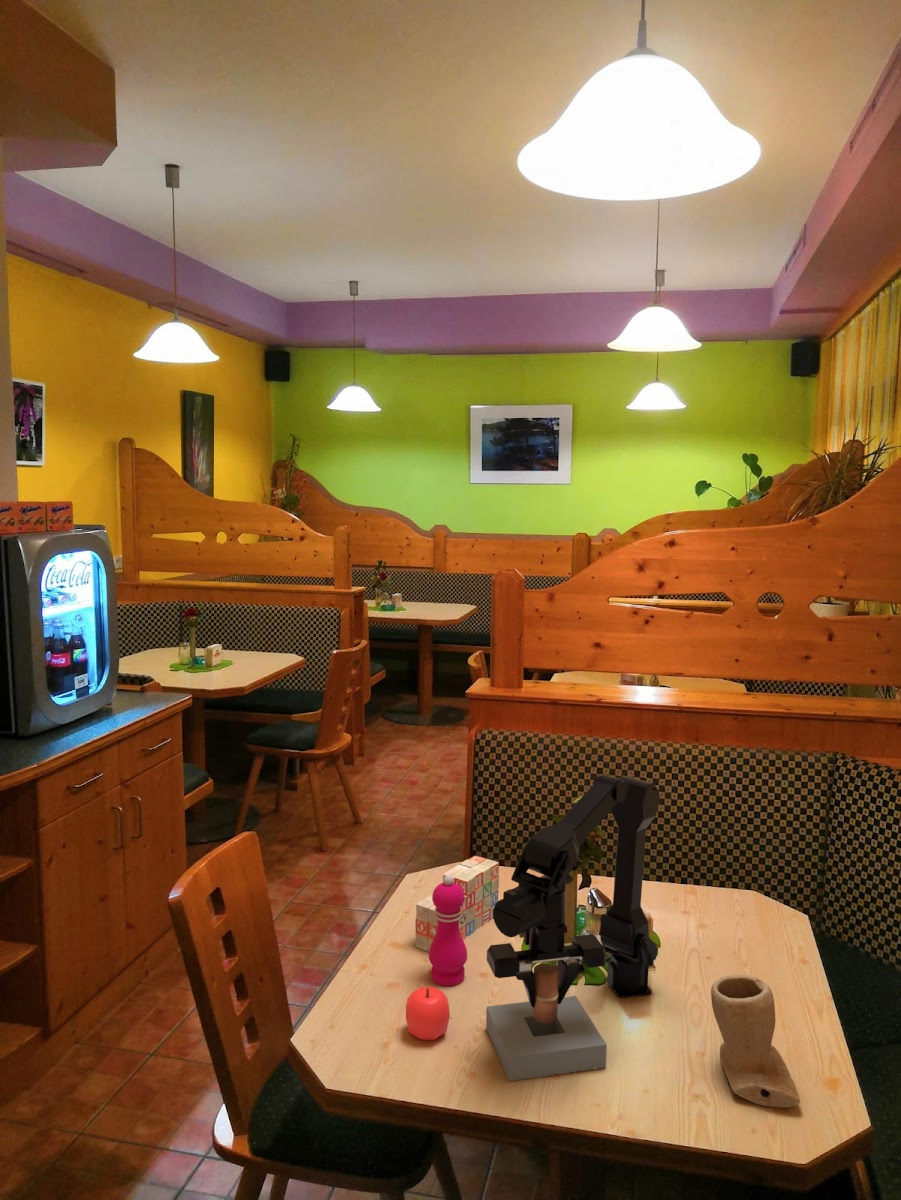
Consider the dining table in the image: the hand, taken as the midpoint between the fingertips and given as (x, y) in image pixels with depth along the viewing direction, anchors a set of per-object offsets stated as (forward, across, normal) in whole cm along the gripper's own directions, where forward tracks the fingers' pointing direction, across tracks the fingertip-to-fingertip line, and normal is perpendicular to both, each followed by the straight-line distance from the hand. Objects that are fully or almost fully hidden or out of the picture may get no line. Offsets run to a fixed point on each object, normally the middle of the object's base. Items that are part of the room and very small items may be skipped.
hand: (545, 1004), depth 147 cm
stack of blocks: (+8, +5, -41) cm, 42 cm away
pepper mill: (+8, +11, -24) cm, 27 cm away
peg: (+2, 0, 0) cm, 2 cm away
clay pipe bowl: (+8, -29, +14) cm, 33 cm away
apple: (+8, +18, -8) cm, 21 cm away
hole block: (+8, 0, 0) cm, 8 cm away
